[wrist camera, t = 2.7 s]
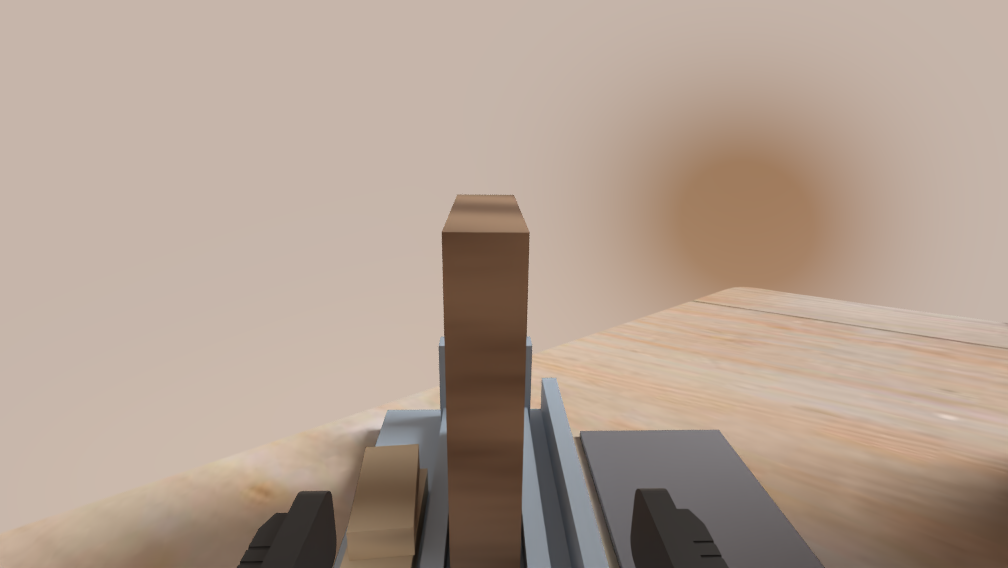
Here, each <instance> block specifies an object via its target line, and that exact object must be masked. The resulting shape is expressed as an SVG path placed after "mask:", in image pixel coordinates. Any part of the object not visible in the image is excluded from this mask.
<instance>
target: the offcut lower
mask: <svg viewBox="0 0 1008 568" xmlns="http://www.w3.org/2000/svg"><path fill="white" fill-rule="evenodd" d="M427 497H428V468H422V469H420V473H419V490H418V508H417V525H416V543H415V555H410V556H398V557H387V558H375V559H364V560H352V561H349V555H348V545H347V548H346V551H345V554H344V557H343V560H342V563H341V566H340V568H416V567H417V561H418V555H419V548H420V542H421V535H422V529H423V523H424V516H425V510H426V504H427Z"/></svg>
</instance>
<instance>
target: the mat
mask: <svg viewBox="0 0 1008 568" xmlns="http://www.w3.org/2000/svg"><path fill="white" fill-rule="evenodd" d="M580 438H581V441H582V445H583V448H584V451H585V454H586V458H587V461H588V464H589V468H590V471H591V474H592V477H593V481H594V484H595V487H596V491H597V494H598V497H599V500H600V504H601V507H602V510H603V513H604V517H605V520H606V523H607V527H608V530H609V533H610V536H611V540H612V543H613V546H614V550H615V553H616V556H617V559H618V563H619V566H620V568H636V567H635V564H634V561H633V557H632V552H631V544H630V534H631V524H632V515H633V506H634V497H635V491H636V489H638V488H665V489H667V491H668V492H669V494H670V496H671V498H672V500H673V502H674V504H675V506H676V508H677V509H689V510H690V511H691V512H692V513H693V514H694V515H696V516H697V517H698V518H699V519H700V520H701V521H702V522H703V523H704V524H705V526H706V528H707V529H708V531H709V533H710V535H711V537H712V538H713V540H714V544H716V546H717V547H718V549H719V551H720V553H721V555H722V558H724V560H725V562H726V564H727V565H728V567H729V568H825V567H824V566H823V565H822V564H821V562H820V561H819V560H818V558H817V557H816V556H815V554H814V553H813V552H812V551H811V549H810V548H809V547H808V545H807V544H806V543H805V541H804V540H803V539H802V538H801V536H800V535H799V534H798V532H797V531H796V530H795V528H794V527H793V526H792V525H791V523H790V522H789V521H788V519H787V518H786V517H785V515H784V514H783V513H782V512H781V510H780V509H779V508H778V506H777V505H776V504H775V502H774V501H773V500H772V499H771V497H770V496H769V495H768V493H767V492H766V491H765V489H764V488H763V487H762V486H761V484H760V483H759V482H758V480H757V479H756V478H755V476H754V475H753V474H752V473H751V471H750V470H749V469H748V467H747V466H746V465H745V463H744V462H743V461H742V460H741V458H740V457H739V456H738V454H737V453H736V452H735V450H734V449H733V448H732V447H731V445H730V444H729V443H728V441H727V440H726V439H725V437H724V436H723V435H722V434H721V432H720V431H719V430H648V431H580Z"/></svg>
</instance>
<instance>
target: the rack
mask: <svg viewBox="0 0 1008 568" xmlns="http://www.w3.org/2000/svg"><path fill="white" fill-rule="evenodd" d="M531 365H532V343H531V338H530V337H527V338H526V374H525V410H524V445H523V481H522V517H521V553H520V568H609V565H608V562H607V558H606V554H605V551H604V547H603V544H602V540H601V537H600V533H599V529H598V526H597V522H596V519H595V515H594V512H593V508H592V505H591V501H590V497H589V494H588V490H587V487H586V483H585V480H584V476H583V472H582V469H581V465H580V462H579V458H578V455H577V451H576V447H575V444H574V440H573V437H572V433H571V430H570V426H569V423H568V419H567V415H566V412H565V408H564V405H563V401H562V398H561V394H560V390H559V387H558V383H557V380H556V378H542V389H541V409H530V396H531ZM439 371H440V408H441V410H387V413H386V416H385V419H384V422H383V425H382V428H381V431H380V434H379V437H378V439H377V442H376V445H375V447H376V446H392V445H408V444H419V460H420V469H422V468H428V497H427V504H426V510H425V516H424V523H423V529H422V535H421V542H420V548H419V555H418V561H417V567H416V568H450V545H449V504H448V463H447V422H446V381H445V341H444V337H441V338H440V343H439ZM347 527H348V526H347ZM346 532H347V529H346ZM346 532H345V535H344V538H343V541H342V543H341V546H340V549H339V552H338V555H337V558H336V561H335V564H334V567H333V568H340V566H341V563H342V560H343V557H344V554H345V551H346V548H347V535H346Z"/></svg>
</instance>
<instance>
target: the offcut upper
mask: <svg viewBox="0 0 1008 568" xmlns="http://www.w3.org/2000/svg"><path fill="white" fill-rule="evenodd" d="M419 473H420V460H419V444H408V445H392V446H376V447H366V449H365V453H364V457H363V462H362V466H361V470H360V475H359V479H358V483H357V488H356V492H355V497H354V501H353V505H352V510H351V514H350V518H349V523H348V527H347V532H346V535H347V545H348V555H349V561H352V560H364V559H375V558H387V557H398V556H410V555H415V543H416V525H417V508H418V490H419Z"/></svg>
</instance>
